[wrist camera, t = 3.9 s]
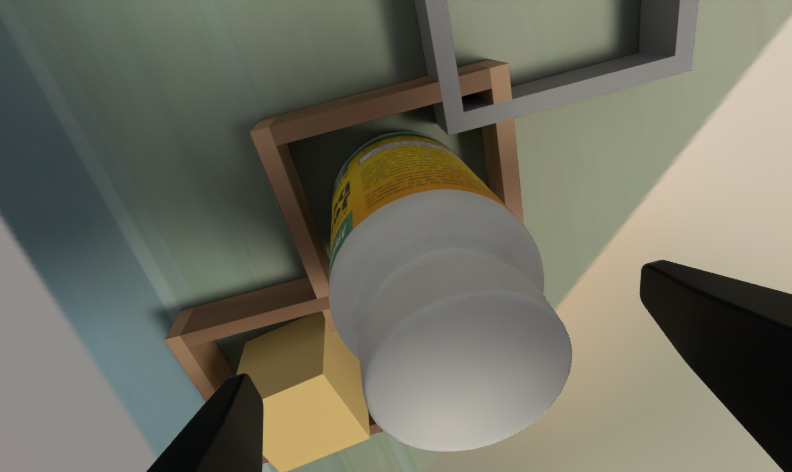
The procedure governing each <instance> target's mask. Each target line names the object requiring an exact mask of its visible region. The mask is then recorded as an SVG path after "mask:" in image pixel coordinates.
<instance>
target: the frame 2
mask: <svg viewBox="0 0 792 472" xmlns="http://www.w3.org/2000/svg"><path fill="white" fill-rule="evenodd" d="M457 72H458V78H459V85H460V92H461V96H465V95H469V94H473V93H476V92H477V96H478V97H480V98H482V99H484V100H486V101H488V102H490V103H492V104H497V103H501V102H505V101H508V100H512V93H511V83H510V72H509V63H505V62H501V61H496V60H491V59H488V60H484V61H481V62H477V63H473V64H469V65H466V66H462V67H458V68H457ZM448 84H449V83H448ZM446 86H447V85H446ZM446 91H447V90H446ZM456 94H457V93H456ZM458 97H459V96H458ZM439 102H443V100H442V94H441V88H440V83H439V81H437V80H435V79H433V78H432V77H430V76H424V77H421V78H417V79H413V80H409V81H406V82H402V83H398V84H394V85H391V86H387V87H383V88H379V89H376V90H372V91H368V92H364V93H361V94H357V95H353V96H349V97H346V98H342V99H338V100H335V101H331V102H327V103H323V104H320V105H316V106H312V107H308V108H305V109H301V110H297V111H293V112H290V113H286V114H282V115H278V116H275V117H271V118H267V119H263V120H260V121H259V122H258V123H257V124H256V126H255V127H254V128H253V129H252V130H251V131H250V134H251V137H252V139H253V142H254V144H255V147H256V149H257V151H258V154H259V156H260V159H261V161H262V164H263V166H264V169H265V171H266V174H267V176H268V179H269V181H270V184H271V186H272V188H273V191H274V193H275V196H276V198H277V201H278V203H279V206H280V208H281V211H282V213H283V216H284V218H285V220H286V223H287V225H288V228H289V230H290V233H291V235H292V238H293V240H294V243H295V245H296V248H297V250H298V252H299V255H300V257H301V260H302V262H303V265H304V267H305V270H306V272H307V275H308V277H309V280H310V282H311V285H312V287H313V289H314V292H315V294H316V297H317V299H318V298H322V297H326V296H329V266H330V260H329V257H328V255H327V252H326V249H325V246H324V244H323V241H322V238H321V236H320V233H319V230H318V227H317V225H316V222H315V219H314V217H313V214H312V211H311V208H310V206H309V203H308V200H307V197H306V195H305V192H304V189H303V187H302V184H301V181H300V178H299V176H298V173H297V170H296V168H295V165H294V162H293V159H292V157H291V154H290V151H289V148H288V146H287V143H289V142H293V141H297V140H301V139H304V138H308V137H312V136H316V135H319V134H323V133H327V132H330V131H334V130H338V129H342V128H345V127H349V126H353V125H357V124H360V123H364V122H368V121H372V120H375V119H379V118H383V117H387V116H390V115H394V114H398V113H402V112H405V111H409V110H413V109H417V108H420V107H424V106H428V105H431V104H435V103H439ZM502 104H503V103H502ZM505 110H506V109H505ZM507 116H508V115H507ZM498 119H499V118H498ZM481 130H482V137H483V145H484V152H485V160H486V167H487V175H488V182H489V189H490V190H491V191H492V192H493V193H494V194H495V195H496V196H497V197H498V198H499V199H500V200H501V201H502V202H503V203H504V204H505V205H506V206H507V207H508V208H509V209H510V210H511V211H512V212H513V213H514V214H515V215H516V216H517V218H518V219H519V220H520V221H521V222H522V224H523V225H524V221H523V211H522V200H521V189H520V179H519V168H518V157H517V147H516V136H515V125H514V118H512V119H509V120H505V121H501V122H497V123H494V124H490V125H486V126H482V127H481ZM319 300H320V299H319ZM325 302H326V301H325ZM319 303H320V302H319ZM323 303H324V302H323ZM324 307H325V306H324ZM322 312H323V314H324V317H325V319H326V321H327V324H328V326H329V329H330V331H331V332H333V331H337V330H336V327H335V325H334V322H333V319H332V315H331V311H330V309H327V310H324V311H322Z"/></svg>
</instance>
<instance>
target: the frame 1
mask: <svg viewBox="0 0 792 472" xmlns="http://www.w3.org/2000/svg"><path fill="white" fill-rule="evenodd" d="M319 299H320V300H319ZM325 301H326V302H325ZM319 302H320V303H319ZM323 302H324V303H323ZM324 306H325V307H324ZM327 309H330V304H329V296H326V297H322V298H318V299H317V297H316V294H315V292H314V289H313V287H312V285H311V282H310V280H309V277H304V278H301V279H297V280H293V281H290V282H286V283H282V284H278V285H275V286H271V287H267V288H263V289H260V290H256V291H252V292H249V293H245V294H241V295H237V296H234V297H230V298H226V299H223V300H219V301H215V302H211V303H208V304H204V305H200V306H196V307H193V308H189V309H185V310H182V311H180V313H179V314H178V316H177V318H176V320H175V322H174V323H173V325H172V327H171V329H170V331H169V332H168V334H167V336H166V338H165V342H166V343H167V345H168V346H169V347H170V349H171V350H172V352H173V353H174V355H175V356H176V358H177V359H178V361H179V362H180V364H181V365H182V367H183V368H184V370H185V371H186V373H187V374H188V376H189V377H190V379H191V380H192V382H193V383H194V385H195V386H196V388H197V389H198V391H199V392H200V394H201V395H202V397H203V398H204V400H205V401H206V402H207V400H208V399H209V398H210V397H211V396H212V395H213V393H214V392H215V391H216V390H217V389H218V388H219V386H220V385H221V384H222V383H223V382H224V381H225V380H226V379H227V378H228V377H230V376H234V373H233V371H232V370H231V368H230V366H229V365H228V363H227V361H226V359H225V358H224V356H223V354H222V353H221V351H220V349H219V348H218V346H217V344H216V343H215V341H214V340H216V339H220V338H223V337H227V336H231V335H234V334H238V333H242V332H246V331H249V330H253V329H257V328H260V327H264V326H268V325H272V324H275V323H279V322H283V321H286V320H290V319H294V318H298V317H301V316H305V315H309V314H313V313H316V312H320V311H324V310H327ZM368 416H369V429H370V435H371V434H375V433H378V432H382V431H383V430H382V429H381V428H380V427H379V426H378V425H377V424H376V422H375V421H374V419H373V418H372V416H371V415H370V413H369V410H368ZM267 462H269V461H268V460H267V459H266V458H265V457H264V456H263V463H262V464H264V463H267Z"/></svg>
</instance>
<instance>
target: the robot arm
mask: <svg viewBox="0 0 792 472" xmlns="http://www.w3.org/2000/svg"><path fill="white" fill-rule="evenodd" d="M640 298H641V301H642V303H643V305H644V306H645V307H646V309H647V310H648V312H649V313H650V314H651V316H652V317H653V318H654V320H655V321H656V323H657V324H658V325H659V327H660V328H661V330H662V331H663V332H664V333H665V335H666V336H667V338H668V339H669V340H670V342H671V343H672V345H673V346H674V347H675V349H676V350H677V351H678V353H679V354H680V355H681V357H682V358H683V359H684V360H685V362H686V363H687V364H688V365H689V366H690V368H691V369H692V370H693V371H694V372H695V373H696V374H697V375H698V377H700V379H701V380H702V381H703V382H704V383H705V384H706V385H707V387H708V388H709V389H710V390H711V391H712V392H713V393H714V394H715V395H716V397H717V398H718V399H719V400H720V401H721V402H722V403H723V404H724V405H725V407H726V408H727V409H728V410H729V411H730V412H731V413H732V414H733V416H734V417H735V418H736V419H737V420H738V421H739V422H740V423H741V424H742V426H743V427H744V428H745V429H746V430H747V431H748V432H749V433H750V435H751V436H752V437H753V438H754V439H755V440H756V441H757V442H758V443H759V445H760V446H761V447H762V448H763V449H764V450H765V451H766V452H767V454H769V456H770V457H771V458H772V459H773V460H774V461H775V462H776V464H778V466H779V467H780V468H781V469H782V470H783V471H784V472H792V294H789V293H785V292H782V291H778V290H773V289H770V288H767V287H763V286H759V285H756V284H751V283H748V282H744V281H740V280H737V279H733V278H729V277H725V276H722V275H718V274H714V273H710V272H707V271H703V270H699V269H696V268H692V267H688V266H684V265H681V264H677V263H673V262H670V261H666V260H658V261H655V262H651V263H647V264H645V265H643V267H642V269H641V281H640ZM263 417H264V406H263V400H262V397H261V395H260V394H259V392H258V390H257V388H256V387H255V385H254V383H253V381H252V379H251V378H250V376H249V375H248V374H246V373H242V374H238V375H234V376H230V377H228V378H227V379H226V380H225V381H224V382H223V383H222V384H221V385H220V386H219V388H218V389H217V390H216V391H215V392H214V393H213V395H212V396H211V397H210V398H209V399H208V400H207V402H206V403H205V404H204V405H203V406H202V407H201V409H200V410H199V411H198V412H197V413H196V414H195V416H194V417H193V418H192V419H191V420H190V421H189V423H188V424H187V425H186V426H185V427H184V428H183V430H182V431H181V432H180V433H179V434H178V435H177V437H176V438H175V439H174V440H173V441H172V442H171V444H170V445H169V446H168V447H167V448H166V449H165V451H164V452H163V453H162V454H161V455H160V456H159V458H158V459H157V460H156V461H155V462H154V463H153V465H152V466H151V467H150V468H149V469H148V470H147V472H262V463H263Z"/></svg>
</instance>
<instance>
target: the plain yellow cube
mask: <svg viewBox="0 0 792 472" xmlns="http://www.w3.org/2000/svg"><path fill="white" fill-rule="evenodd" d="M242 373H246V374H248V375H249V376H250V378H251V379H252V381H253V383H254V385H255V387H256V388H257V390H258V392H259V394H260V395H261V397H262V400H263V406H264V417H263V456H264V457H265V458H266V459H267V460H268V461H269V462H270V463H271V464H272V465H273V466H274V467H275V468H276V469H277V470H278V471H279V472H287V471H290V470H292V469H295V468H297V467H299V466H302V465H304V464H307V463H309V462H312V461H314V460H317V459H319V458H322V457H324V456H327V455H329V454H332V453H334V452H337V451H339V450H342V449H344V448H347V447H349V446H352V445H354V444H357V443H359V442H362V441H364V440H367V439H369V438H370V429H369V416H368V408H367V406H366V402H365V399H364V395H363V388H362V379H361V370H360V361H359V359H357V358H356V357H355V356H354V355H353V354H352V353H351V351H350V350H349V349H348V348H347V346H346V345H345V344H344V342H343V341H342V339H341V338H340V336H339V334H338V332H337V331H333V332H331V331H330V329H329V326H328V324H327V321H326V319H325V317H324V314H323V312H322V311H320V312H316V313H313V314H310V315H307V316H305V317H303V318H300V319H298V320H296V321H294V322H291V323H289V324H287V325H284V326H282V327H280V328H277V329H275V330H273V331H271V332H268V333H266V334H264V335H261V336H259V337H257V338H254V339H252V340H250V341H248V342H246V343H245V346H244V350H243V353H242V356H241V360H240V363H239V366H238V370H237V373H236V375H238V374H242Z"/></svg>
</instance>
